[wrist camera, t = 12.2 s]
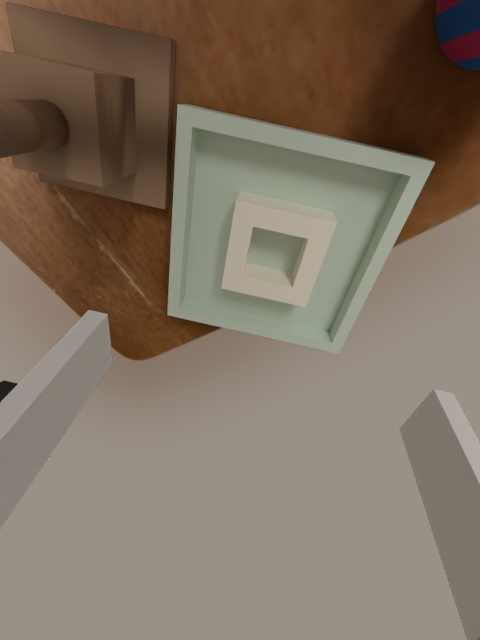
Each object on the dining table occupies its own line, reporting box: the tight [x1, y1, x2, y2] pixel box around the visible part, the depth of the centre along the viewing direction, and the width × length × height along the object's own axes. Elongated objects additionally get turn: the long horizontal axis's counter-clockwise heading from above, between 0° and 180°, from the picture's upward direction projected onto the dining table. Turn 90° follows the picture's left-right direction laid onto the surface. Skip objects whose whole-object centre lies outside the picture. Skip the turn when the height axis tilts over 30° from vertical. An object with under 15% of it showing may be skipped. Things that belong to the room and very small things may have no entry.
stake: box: [0, 2, 176, 209], centre depth 17 cm, size 10×10×11 cm
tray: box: [167, 104, 435, 354], centre depth 24 cm, size 16×16×2 cm
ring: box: [221, 192, 337, 307], centre depth 24 cm, size 7×7×2 cm
